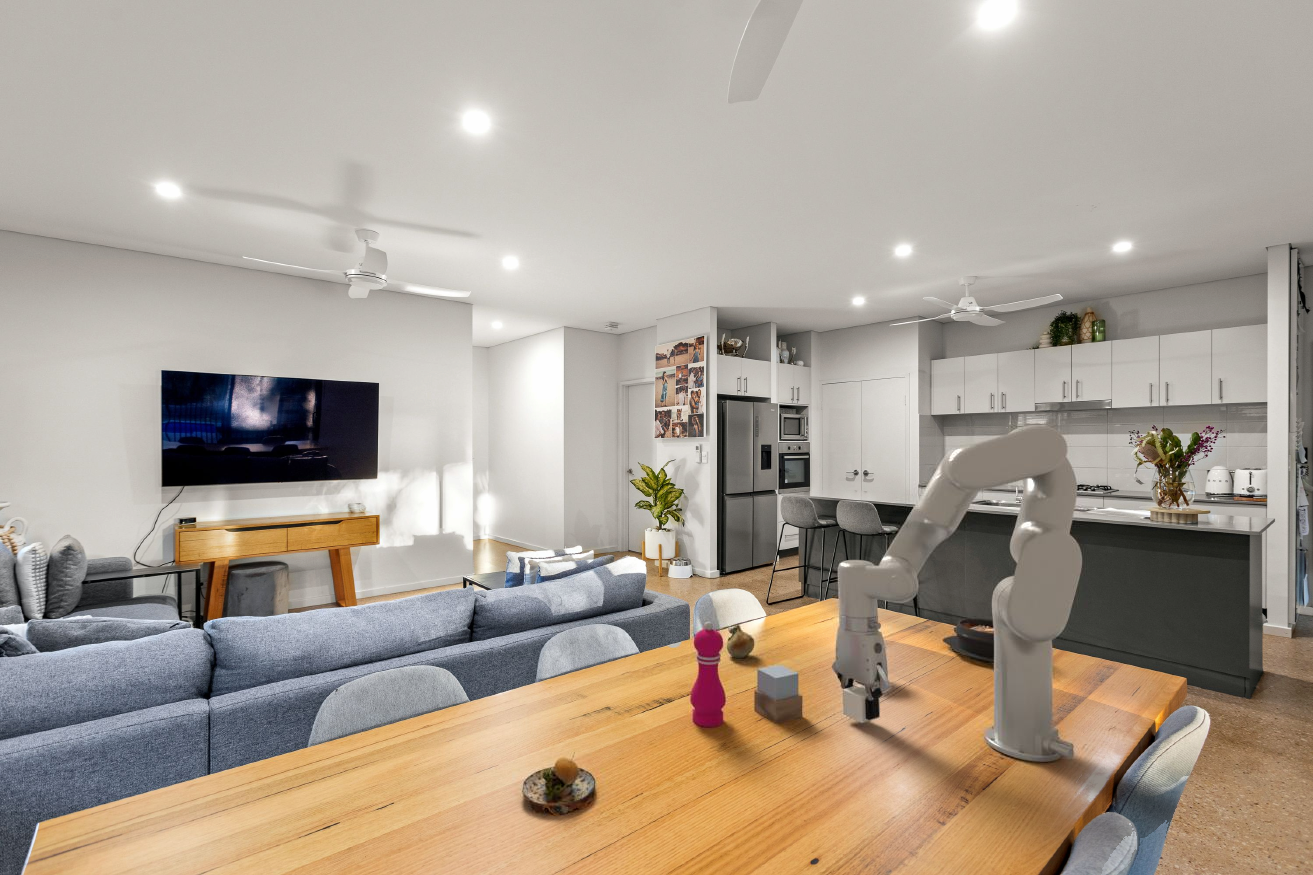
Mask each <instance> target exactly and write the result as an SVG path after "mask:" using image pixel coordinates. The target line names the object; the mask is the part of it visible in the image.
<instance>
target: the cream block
mask: <svg viewBox="0 0 1313 875" xmlns="http://www.w3.org/2000/svg"><path fill="white" fill-rule="evenodd" d="M873 691H874V689H872V692H873ZM865 699H868V697H867V693H866V689H865V685H863V684H857V685H854V686H853V687H850V688H846V689H842V709H843V710H842V711H843V712H842V714H843V715H844V716H846V717H848V718H849V719H852V720H854V721H856V722H858V723H861V724H864V723H867V722H870V721H873V720H876V719H879V718H881V708H880V706H881V704H880V703H881V702H880V700H881V699H880V698H879V717H877V718H874V719H871V720H867V719H866V707H865Z"/></svg>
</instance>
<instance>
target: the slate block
mask: <svg viewBox="0 0 1313 875" xmlns="http://www.w3.org/2000/svg"><path fill="white" fill-rule="evenodd" d="M756 671H757V672H756V674H757V678H756V679H757V681H756V688H757V689H756V690H758V691H759V692H761V693H763V694H765V695H767V696H768V697H770V698H772V699H774V700H780V699H784V698H788V697H792V696H797V695H798V694H799V672H796V671H794V670H792V669H790V668H788V667H786V666H784V665H782V664H774V665H770V666H765V667H761V668H757V669H756Z"/></svg>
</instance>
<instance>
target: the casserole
mask: <svg viewBox="0 0 1313 875" xmlns="http://www.w3.org/2000/svg"><path fill="white" fill-rule="evenodd" d="M953 632H954V633H955V634H956V635H949V636H947V637H944V638H942V642H943V643H945V644H946V645H948V646H949V647H950V648H951V649H952V650H953V651H955V652H956V653H958V654H960V655H963V656H966V657H968V658H969V659H972V660H973V661H974V660H975V661H978V662H982V663H985V664H986V663H987V664H993V665H994V626H993V619H986V618H964V619H960V620H958V621H957V624H956V626H955V627H954V628H953Z"/></svg>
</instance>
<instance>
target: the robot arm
mask: <svg viewBox="0 0 1313 875" xmlns="http://www.w3.org/2000/svg"><path fill="white" fill-rule="evenodd" d="M1067 455H1068V444H1067V441H1066V439H1065V437H1064V436H1063V434H1062V433H1061V432H1059V431H1058V430H1057V429H1055V428H1053V427H1050V426H1047V425H1042V424H1040V425H1039V424H1038V425H1037V424H1036V425H1025V426H1024V425H1023V426H1021V427H1018V428H1015V429H1013V430H1012V431H1010V432H1009V433H1007V434H1004V435H1001V436H1000V435H999V436H998V437H995V438H991V439H987V440H985V441H979V442H976V443H972V444H965V445H964V444H963V445H958V446H954V447H953V448H952V449H950V450H949V451H948V452H946V454H945V455H944V457H943V458H942V460H941V461H940V463H939V464H938V466H937V467H936V469H935V472H934V473H933V475H932V476H931V478H930V480H929V482H928V483H927V485H926V487H925V488H924V490H923V492H922V493H921V495H920V497H919V498H918V500H916V501H917V502H916V503H915V505H914V507H913V508H912V510H911V512H909V514H908V516H907V518H906V520H905V522H904V523H903V524H902V526H901V528H900V529H899V531H898V532H897V533H896V535H895V537H894V539H893V540H892V542H891V544H890V546H889V547H888V549H887V550H886V552H885V554H884V555H883V557H882V559H881V560H880V562H879V564H878V565H875V564H874V563H873V562H871V561H868V560H863V559H862V560H861V559H849V560H844V561H843V560H842V562H839V564H838V567H837V589H838V590H837V591H838V592H837V594H838V596H837V597H838V620H839V621H838V622H839V623H838V624H839V625H838V626H837V632H836V639H835V660H834V662H833V664H831V668H832V670H833V671H834V673H835V674H836V675H837V679H838V680H839V682H840V687H841V689H842V690H843V689H846V688H850V687H853V686H856V685H855V683H856V682H857V681H859V682H858V683H860V682H862V683H861V684H864V685H863V686H865V689H866V693H867V697H868V699H865V707H866V719H867V720H871V719H874V718H877V717H879V699H880V698H882V696H883V695H884V694H885V693H887V692H889V690H891V689H892V688H893V687H892V684H891V682H890V681H889V679H888V677H889V671H888V660H887V650H886V648H885V645H886V643H885V641H884V636H883V634H882V632H881V631H879V630H880V629H881V627H882V623H881V622H879V617H878V616H879V615H878V614H879V613H878V610H879V609H878V600H879V601H884V602H889V603H894V604H895V603H896V604H904V603H907V602H910V601H911V600H913V599H914V598H915V597H916V595H917V594H918V592H919V587H920V586H919V580H918V574H919V573H920V571H921V570H922V568H923V566H924V564H925V563H926V562H927V559H929V557H930V556H931V554H932V553H933V551H934V550H935V549H936V548H937V546H938V545H940V543H942V542H943V541H945V540H946V539H948V538H950V536H952V535H953V533H954V532H955V531H956V530H957V529H958V527H959V525H960V523H961V522H962V520H963V518H964V517H965V515H966V514H967V512H968V510H969V508H970V507H971V505H972V503H973V502H974V500H975V499H976V497H977V496H978V494H979V492H980V491H986V490H989V489H993V488H998V487H1001V486H1006V485H1009V484H1012V483H1016V482H1019V481H1022V483H1023V484H1022V485H1023V489H1022V490H1023V491H1022V495H1021V496H1022V498H1021V501H1020V507H1019V511H1018V514H1017V518H1016V522H1015V527H1014V529H1013V532H1012V536H1011V538H1010V543H1009V552H1010V554H1011V556H1012V558H1013V560H1014V562H1016V567H1015V570H1014V575H1011V576H1008V577H1006V578H1004V579H1002V580H1001V581H999V582H998V583H997V585H996V586H995V588H994V590H993V593H992V596H991V611H992V614H991V615H992V620H993V626H994V664H993V726H990V727H987V728H986V729H985V730H984V741H985V742H986V744H988V745H989V746H990V747H991V748H992V749H994V750H996V751H998V752H1000V753H1002V754H1003V755H1005V756H1006V755H1007V756H1009V757H1011V758H1015V759H1020V760H1022V761H1029V762H1037V763H1038V762H1039V763H1045V762H1046V763H1047V762H1055V761H1058V760H1059V759H1060V758H1062V757H1063V758H1066V759H1069V760H1072V759H1073V758H1074V754H1075V750H1074V748H1075V747H1074V744H1073V743H1072V742H1069V741H1067V740H1063V739H1061V737H1060V736H1059V728H1056V727H1054V726H1053V666H1054V665H1053V663H1054V662H1053V660H1054V659H1053V658H1054V656H1053V652H1054V651H1053V640H1054V639H1056V638H1057V637H1058V636H1060V634H1062V632H1063V631H1064V629H1065V628H1066V625H1067V623H1068V620H1069V618H1070V614H1071V611H1072V606H1073V603H1074V598H1075V596H1076V592H1077V588H1078V585H1079V582H1080V576H1081V573H1082V567H1083V555H1082V550H1081V547H1080V545H1079V543H1078V542H1077V540H1076V539H1075V538H1074V537H1073V536H1072V535H1071V534H1070V532H1071V527H1072V524H1073V519H1074V518H1073V517H1074V513H1075V508H1076V503H1077V499H1078V498H1077V497H1078V484H1077V478H1076V475H1075V471H1074V469H1073V466H1072V464H1071V462H1070V460H1069V459H1068V457H1067ZM872 687H873V689H872ZM872 690H874V691H873V692H872ZM877 719H878V718H877ZM874 720H875V719H874ZM871 721H872V720H871Z"/></svg>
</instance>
